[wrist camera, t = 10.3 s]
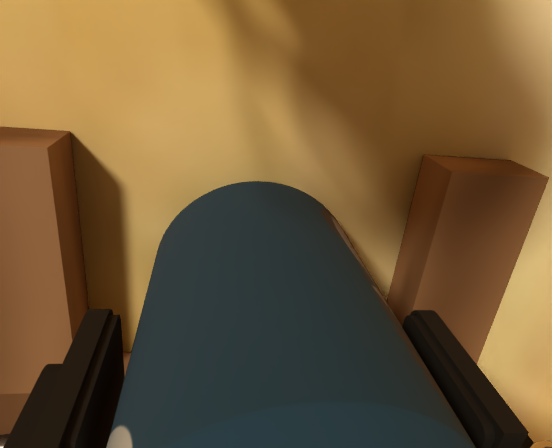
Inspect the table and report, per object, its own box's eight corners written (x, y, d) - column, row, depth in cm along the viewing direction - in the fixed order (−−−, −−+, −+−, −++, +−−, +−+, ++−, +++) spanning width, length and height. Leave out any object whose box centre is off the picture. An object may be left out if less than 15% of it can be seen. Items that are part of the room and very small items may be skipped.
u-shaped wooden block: (510, 160, 16) (549, 177, 14) (411, 450, 22) (428, 487, 20) (-168, 115, 12) (-235, 131, 10) (-47, 476, 19) (-75, 523, 17)
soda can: (126, 282, 16) (-57, 805, 5) (222, 131, 14) (239, 473, 3) (274, 349, 18) (356, 805, 8) (374, 227, 16) (675, 611, 6)
